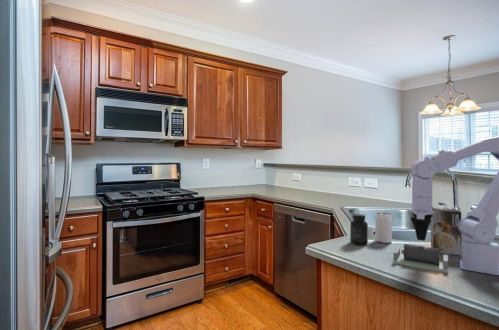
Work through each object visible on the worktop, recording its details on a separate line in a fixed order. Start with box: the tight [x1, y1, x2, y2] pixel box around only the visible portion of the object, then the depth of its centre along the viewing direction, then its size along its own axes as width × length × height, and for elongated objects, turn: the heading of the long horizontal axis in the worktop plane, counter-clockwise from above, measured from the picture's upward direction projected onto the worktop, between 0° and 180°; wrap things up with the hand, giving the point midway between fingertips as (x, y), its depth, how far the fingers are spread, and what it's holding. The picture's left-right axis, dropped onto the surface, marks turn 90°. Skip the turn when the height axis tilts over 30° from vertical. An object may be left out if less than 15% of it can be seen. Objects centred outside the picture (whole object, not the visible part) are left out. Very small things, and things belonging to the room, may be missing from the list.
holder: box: [392, 247, 449, 274], centre depth 96 cm, size 15×8×4 cm, turn 56°
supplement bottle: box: [349, 213, 369, 247], centre depth 120 cm, size 7×7×12 cm
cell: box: [401, 243, 440, 265], centre depth 96 cm, size 11×5×5 cm, turn 57°
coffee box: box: [430, 207, 462, 256], centre depth 109 cm, size 9×6×16 cm
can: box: [374, 212, 393, 244], centre depth 123 cm, size 6×6×12 cm
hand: (421, 237), depth 96 cm, fingers open, 7 cm apart
